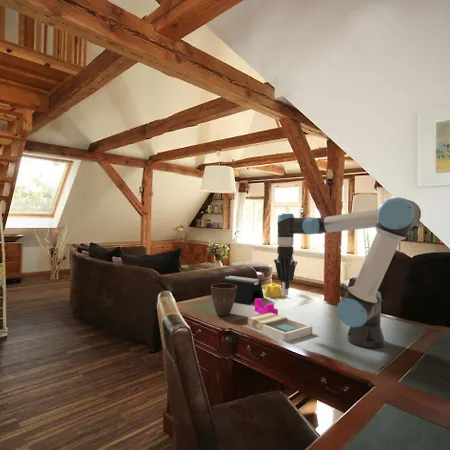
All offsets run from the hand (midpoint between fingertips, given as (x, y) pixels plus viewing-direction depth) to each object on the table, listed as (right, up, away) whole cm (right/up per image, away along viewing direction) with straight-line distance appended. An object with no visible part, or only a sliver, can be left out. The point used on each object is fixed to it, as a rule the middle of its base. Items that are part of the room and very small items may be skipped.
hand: (285, 295), depth 155 cm
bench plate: (-7, -17, +9) cm, 21 cm away
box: (+1, -18, -1) cm, 18 cm away
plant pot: (-30, -17, +29) cm, 44 cm away
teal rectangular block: (0, -18, -1) cm, 18 cm away
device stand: (-18, -17, +63) cm, 68 cm away
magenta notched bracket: (-5, -18, +30) cm, 35 cm away
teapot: (+4, -17, +70) cm, 73 cm away
